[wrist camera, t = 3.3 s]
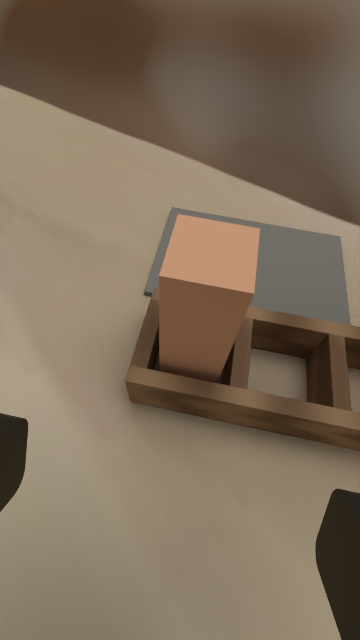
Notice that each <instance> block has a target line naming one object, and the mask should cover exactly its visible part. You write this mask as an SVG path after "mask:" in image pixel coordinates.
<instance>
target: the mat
mask: <svg viewBox="0 0 360 640" xmlns="http://www.w3.org/2000/svg"><path fill="white" fill-rule="evenodd" d="M178 214H181V215H187V216H193V217H198V218H204V219H210V220H215V221H221V222H227V223H232V224H238V225H243V226H249V227H255V228H260V235H259V246H258V257H257V269H256V280H255V291H254V296H253V298H252V300H251V303H250V305H249V306H253V307H258V308H263V309H268V310H273V311H279V312H284V313H289V314H294V315H300V316H305V317H310V318H315V319H320V320H326V321H331V322H336V323H341V324H347V325H350V319H349V310H348V301H347V292H346V283H345V274H344V265H343V256H342V247H341V238H340V237H338V236H333V235H327V234H321V233H315V232H310V231H304V230H298V229H293V228H287V227H281V226H276V225H270V224H264V223H258V222H253V221H247V220H241V219H236V218H230V217H224V216H218V215H213V214H207V213H201V212H196V211H190V210H184V209H179V208H173V207H172V209H171V212H170V215H169V218H168V221H167V224H166V227H165V230H164V233H163V237H162V240H161V243H160V246H159V249H158V252H157V255H156V258H155V261H154V264H153V267H152V270H151V273H150V276H149V279H148V282H147V285H146V288H145V295H148V296H152V293H153V290H154V288H159V274H160V271H161V268H162V264H163V261H164V258H165V255H166V251H167V248H168V245H169V242H170V238H171V235H172V232H173V229H174V225H175V222H176V219H177V216H178Z"/></svg>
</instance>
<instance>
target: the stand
mask: <svg viewBox="0 0 360 640" xmlns="http://www.w3.org/2000/svg"><path fill="white" fill-rule="evenodd" d="M251 347H253V348H258V349H263V350H268V351H273V352H278V353H283V354H288V355H293V356H298V357H303V358H307V402H305V401H300V400H295V399H290V398H285V397H281V396H276V395H271V394H266V393H261V392H257V391H252V390H247V384H248V372H249V361H250V349H251ZM158 352H159V288H154V290H153V293H152V296H151V300H150V303H149V306H148V309H147V312H146V316H145V319H144V322H143V325H142V329H141V332H140V335H139V338H138V341H137V345H136V348H135V351H134V354H133V358H132V361H131V364H130V367H129V370H128V374H127V377H126V380H125V382H126V386H127V390H128V394H129V398H130V401H131V402H136V403H140V404H145V405H149V406H154V407H159V408H163V409H168V410H173V411H177V412H182V413H187V414H191V415H196V416H201V417H205V418H210V419H215V420H219V421H224V422H229V423H233V424H238V425H243V426H247V427H252V428H257V429H261V430H266V431H271V432H275V433H280V434H285V435H289V436H294V437H298V438H303V439H308V440H312V441H317V442H322V443H326V444H331V445H336V446H340V447H345V448H350V449H354V450H359V451H360V413H358V412H353V411H351V401H350V391H349V380H348V370H347V366H348V367H353V368H358V369H360V327H357V326H352V325H347V324H341V323H336V322H331V321H326V320H320V319H315V318H310V317H305V316H300V315H294V314H289V313H284V312H279V311H273V310H268V309H263V308H258V307H253V306H249V308H248V310H247V312H246V315H245V317H244V320H243V322H242V324H241V327H240V329H239V331H238V334H237V336H236V339H235V341H234V343H233V346H232V348H231V351H230V353H229V355H228V358H227V360H226V363H225V369H224V377H223V384H218V383H213V382H208V381H204V380H199V379H194V378H189V377H184V376H180V375H175V374H170V373H165V372H160V371H155V370H154V368H155V364H156V360H157V356H158Z"/></svg>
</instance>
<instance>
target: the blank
mask: <svg viewBox="0 0 360 640" xmlns="http://www.w3.org/2000/svg"><path fill="white" fill-rule="evenodd" d="M259 235H260V228H255V227H249V226H243V225H238V224H232V223H227V222H221V221H215V220H210V219H204V218H198V217H193V216H187V215H181V214H178V216H177V219H176V222H175V225H174V229H173V232H172V235H171V238H170V242H169V245H168V248H167V251H166V255H165V258H164V261H163V264H162V268H161V271H160V274H159V371H160V372H165V373H170V374H175V375H180V376H184V377H189V378H194V379H199V380H204V381H208V382H213V383H217V382H218V379H219V377H220V375H221V372H222V370H223V367H224V365H225V363H226V360H227V358H228V355H229V353H230V351H231V348H232V346H233V343H234V341H235V339H236V336H237V334H238V331H239V329H240V327H241V324H242V322H243V320H244V317H245V315H246V312H247V310H248V308H249V305H250V303H251V300H252V298H253V296H254V291H255V280H256V269H257V257H258V246H259Z"/></svg>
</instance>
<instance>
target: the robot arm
mask: <svg viewBox="0 0 360 640" xmlns="http://www.w3.org/2000/svg"><path fill="white" fill-rule="evenodd" d="M27 436H28V422H27V420H26V419H24V418H20V417H15V416H11V415H6V414H2V413H0V512H1V510H2V509H3V508H4V507H5V506H6V504H7V503H8V502H9V501H10V499H11V498H12V497H13V496H14V494H15V493H16V491H17V490H18V488H19V486H20V484H21V481H22V479H23V475H24V471H25V462H26V449H27ZM316 562H317V567H318V570H319V573H320V576H321V579H322V582H323V585H324V588H325V591H326V594H327V597H328V600H329V603H330V606H331V609H332V612H333V615H334V618H335V621H336V624H337V627H338V630H339V633H340V636H341V639H342V640H360V493H355V492H351V491H346V490H342V489H335V490H334V491H333V492H332V494H331V497H330V500H329V503H328V506H327V509H326V512H325V515H324V518H323V521H322V524H321V527H320V530H319V533H318V536H317V540H316Z"/></svg>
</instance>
